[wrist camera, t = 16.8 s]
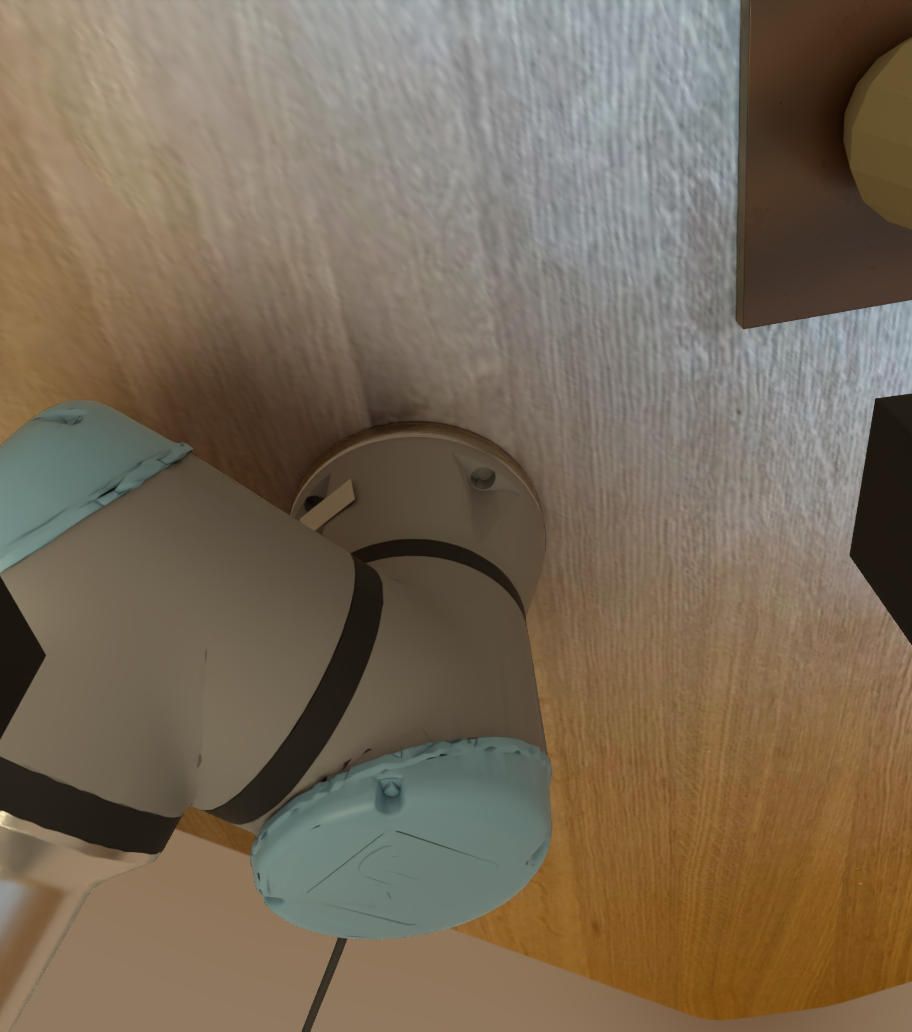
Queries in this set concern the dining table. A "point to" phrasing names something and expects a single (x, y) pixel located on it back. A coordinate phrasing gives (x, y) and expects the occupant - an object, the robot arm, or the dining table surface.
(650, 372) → the dining table surface
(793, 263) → the walnut board
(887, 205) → the squeeze bottle
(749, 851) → the dining table surface
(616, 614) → the dining table surface
